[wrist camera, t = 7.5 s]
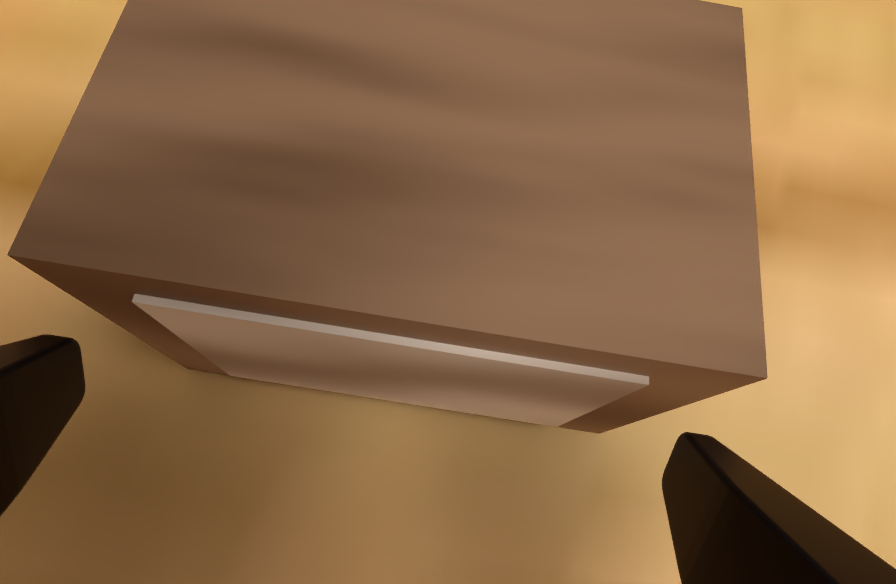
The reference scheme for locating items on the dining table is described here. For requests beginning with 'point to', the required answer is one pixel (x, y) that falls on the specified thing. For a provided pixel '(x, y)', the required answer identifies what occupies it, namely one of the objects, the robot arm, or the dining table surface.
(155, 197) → the walnut block
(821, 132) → the dining table surface
